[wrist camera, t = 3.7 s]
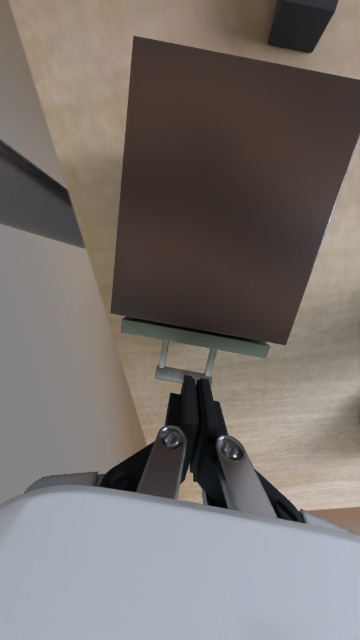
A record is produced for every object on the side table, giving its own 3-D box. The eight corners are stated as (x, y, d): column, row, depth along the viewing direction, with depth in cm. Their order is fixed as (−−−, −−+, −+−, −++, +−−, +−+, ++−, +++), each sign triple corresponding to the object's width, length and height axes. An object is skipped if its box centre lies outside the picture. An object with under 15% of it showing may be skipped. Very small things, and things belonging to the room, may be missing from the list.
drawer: (228, 372, 23) (247, 414, 16) (137, 355, 23) (114, 391, 15) (275, 203, 18) (334, 153, 11) (159, 181, 18) (141, 116, 11)
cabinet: (245, 318, 22) (286, 345, 13) (141, 299, 22) (110, 313, 13) (284, 178, 18) (378, 82, 9) (159, 154, 18) (132, 34, 9)
